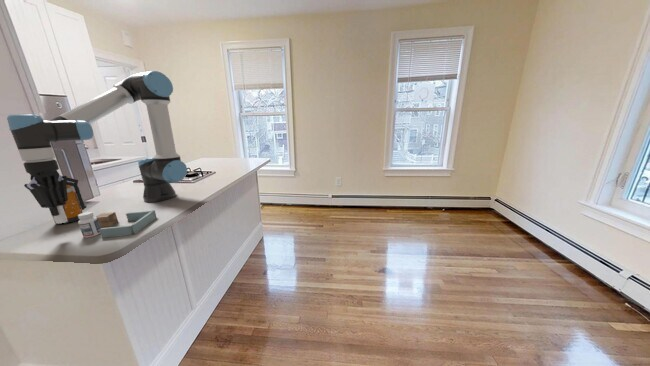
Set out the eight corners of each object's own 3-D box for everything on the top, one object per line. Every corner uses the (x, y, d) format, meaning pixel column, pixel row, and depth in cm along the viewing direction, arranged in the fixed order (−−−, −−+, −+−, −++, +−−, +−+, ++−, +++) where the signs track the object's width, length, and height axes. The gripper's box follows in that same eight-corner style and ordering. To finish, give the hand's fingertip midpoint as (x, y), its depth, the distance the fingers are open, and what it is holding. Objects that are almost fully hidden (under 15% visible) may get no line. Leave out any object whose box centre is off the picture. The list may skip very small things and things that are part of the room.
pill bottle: (97, 230, 93) (90, 210, 91) (104, 232, 91) (98, 211, 89) (80, 236, 89) (72, 215, 86) (87, 238, 87) (80, 217, 84)
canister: (56, 221, 104) (39, 178, 99) (90, 213, 112) (76, 173, 106) (54, 227, 98) (36, 182, 93) (90, 218, 106) (76, 176, 100)
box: (129, 220, 102) (127, 212, 101) (156, 217, 104) (154, 210, 103) (102, 237, 87) (99, 229, 86) (134, 234, 89) (132, 226, 88)
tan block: (105, 223, 100) (102, 213, 98) (118, 222, 100) (115, 212, 99) (96, 229, 95) (92, 218, 94) (110, 227, 96) (106, 216, 94)
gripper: (45, 158, 86) (66, 216, 92) (5, 164, 74) (32, 231, 80) (68, 157, 87) (87, 214, 94) (32, 162, 75) (57, 229, 81)
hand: (61, 222), depth 87 cm, fingers closed
